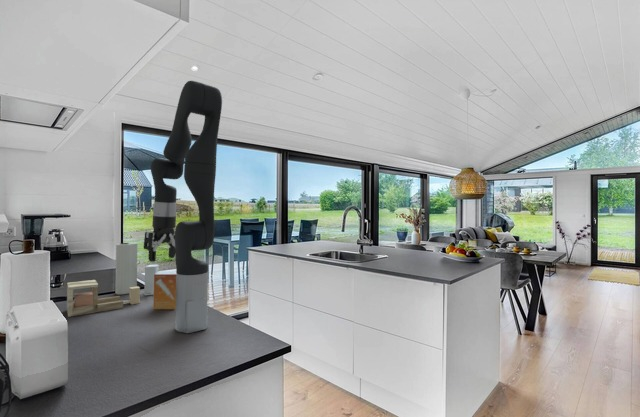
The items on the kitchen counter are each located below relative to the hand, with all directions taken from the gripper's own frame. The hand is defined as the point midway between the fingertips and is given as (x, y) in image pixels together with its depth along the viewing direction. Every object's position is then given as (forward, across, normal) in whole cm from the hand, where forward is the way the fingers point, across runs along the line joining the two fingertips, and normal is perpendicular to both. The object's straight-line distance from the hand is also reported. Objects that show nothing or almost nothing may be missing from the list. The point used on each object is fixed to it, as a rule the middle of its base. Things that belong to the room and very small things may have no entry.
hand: (162, 259), depth 117 cm
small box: (+19, +4, 0) cm, 19 cm away
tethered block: (+20, -5, +19) cm, 28 cm away
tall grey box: (+21, +11, +31) cm, 39 cm away
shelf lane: (+20, -8, +21) cm, 30 cm away
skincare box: (+20, +15, +21) cm, 33 cm away
